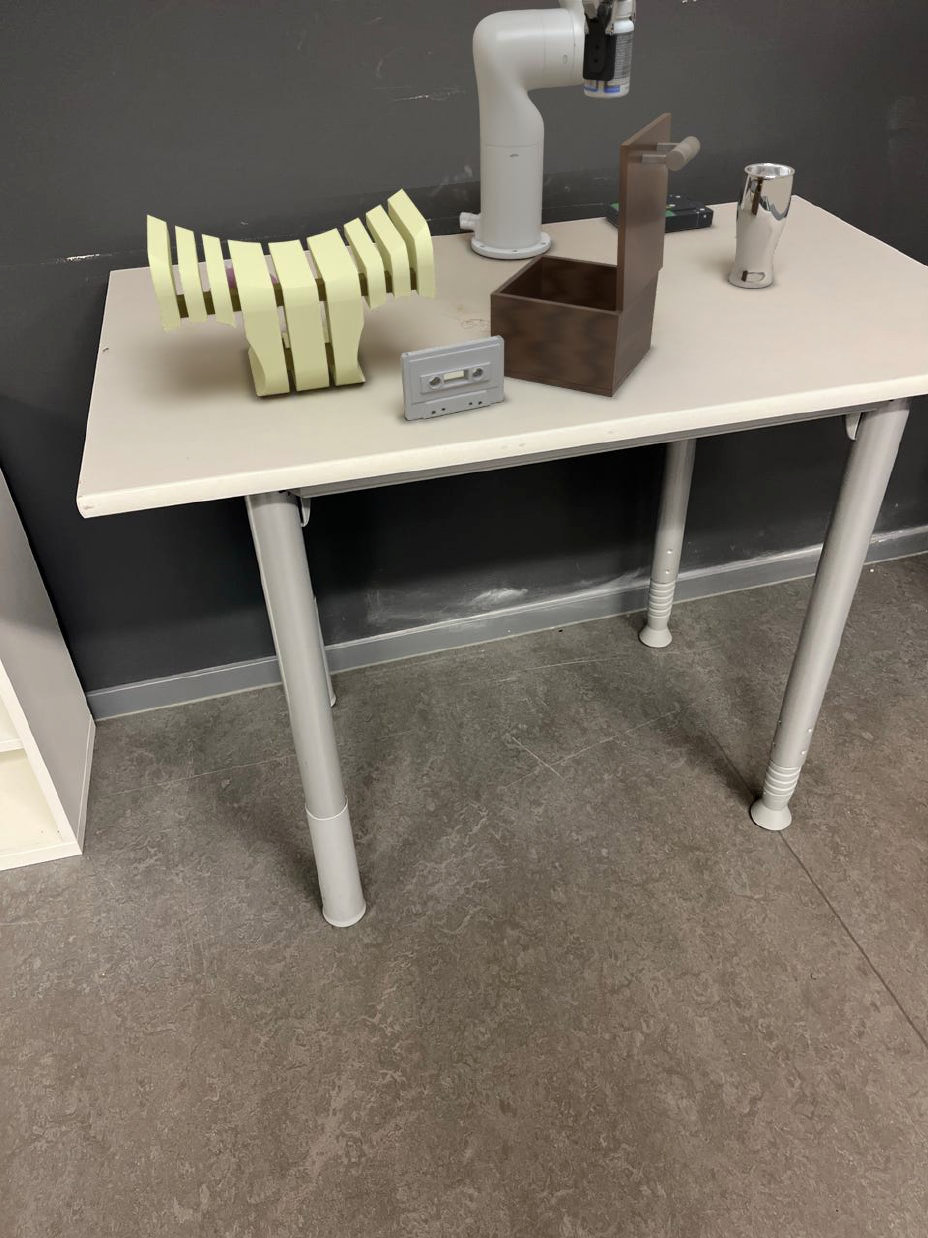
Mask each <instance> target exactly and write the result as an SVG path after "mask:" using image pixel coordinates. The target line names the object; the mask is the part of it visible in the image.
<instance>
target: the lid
mask: <svg viewBox="0 0 928 1238" xmlns="http://www.w3.org/2000/svg"><path fill="white" fill-rule="evenodd" d="M671 129H672V112H663V113H662V114H661V115H659V116H658V117H656V118H655V119H654V120H652V121H651V122H650V123H648V124H647V125H646V126H645V127H643V128H642V129H640V130H639V131H637V132H636V133H635V134H633V135H632V136H631V137H629V138H628V139H626V140H625V141H624V142H623V143H621V144H620V145H619V168H618V169H619V172H618V173H619V174H618V202H619V207H618V227H617V252H616V256H617V257H616V265H617V284H616V310H617V311H624V309H625V308H626V307H627V306H628V305H629V304H630V303H631V302H632V301H633V299H634V298H635V297H636V296H637V295H638V294H639V293H640V292H641V291H642V289H643V288H644V287H645V286H646V285H647V284H648V283H649V282H650V281H651V279H652V278H653V277H654V276H655V275H656V274H657V273H658V272H660V271H661V270H662V268H664V255H665V253H664V251H665V234H666V232H665V219H666V201H667V196H668V181H669V171H671V172H678V171H680V170H681V169H682V168H683V167H685V166H686V165H687V164H688V163H689V162H690V161H691V160H692V159H693V158H695V156H696V155H698V154H699V152H700V149H701V143H700V141H699V139H698V138H697V137H695V136H692V135H690V136H687V137H685V138H684V139H683V140H682V141H680V142H671ZM658 274H659V273H658Z"/></svg>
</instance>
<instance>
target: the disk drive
mask: <svg viewBox="0 0 928 1238" xmlns="http://www.w3.org/2000/svg"><path fill="white" fill-rule="evenodd" d="M692 198H693V197H692V196H690V195H689V194H687V193H678V194H671V195H667V201H666V219H665V233H668V232H670V233H671V232H678V231H685V230H692V229H693V230H694V229H699V228H704V227H708V226H712V225H713V219H714V213H715V211H714V210H713V209H712V208H710V207H708V206H707V205H705V204H703V203H702V202H700V201H699V200H692ZM618 207H619V201H614V202H607V203H606V210H605V213H606V214H605V218H606V219H607V220H608V221H609V222H610V223H612V224H613V225H615V226H616V227H617V228H618Z"/></svg>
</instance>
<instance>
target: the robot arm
mask: <svg viewBox="0 0 928 1238" xmlns="http://www.w3.org/2000/svg"><path fill="white" fill-rule="evenodd" d="M557 1H558V4H559V8H558V7H557V8H543V9H540V8H539V9H537V8H533V9H515V10H514V9H513V10H504V11H503V10H502V11H499V12H494V13H492V14H488V15H487V16H486V17H484V18H482V19H481V20H480V21H479V22H478V23H477V25H476V26H475V29H474V32H473V34H472V58H473V65H474V66H473V67H474V71H475V79H476V86H477V96H478V110H479V111H478V112H479V166H480V168H479V169H480V170H479V173H480V175H479V177H480V178H479V179H480V181H479V182H480V212H479V213H478V214H474V213H472V212H464V211H462V212H461V213H460V215H459V226H460V227H459V228H460V229H461V230H467V231H468V230H471V231H473V232H474V235H473V236H472V238H471V240H470V241H471V245H470V246H471V249H472V250H473V251H474V252H475V253H477V254H478V255H480V256H484V257H487V258H490V259H499V260H522V259H528V258H529V259H530V258H535V257H536V256H537V255H538V254H544V253H546V252H548V250H549V249H550V248H551V244H552V243H551V241H552V239H551V237H550V235H549V234H547V233H546V232H545V231H543V230H542V217H543V216H542V214H543V213H542V212H543V211H542V210H543V183H544V153H545V151H544V149H545V148H544V147H545V123H544V120H543V117H542V114H541V112H540V111H539V109H538V108H537V107H536V105H535V104H534V103H533V102H532V100H531V99H530V97H529V94H528V92H529V91H534V90H538V89H549V88H565V87H574V86H579V85H582V84H583V85H584V79H585V80H597V81H611V80H612V79H613V78H614V69H615V55H616V42H617V35H616V34H613V32H614V26H615V19H616V12H617V5H618V0H557ZM637 2H638V0H632V12H631V16H629V20H630V21H632V23H633V25H634V26H635V23H636V19H637ZM604 5H609V6H608V13H607V14H606V9H605V6H604ZM634 34H635V33H634ZM634 34H633V38H634V36H635V35H634ZM633 47H634V44H633V45H632V49H633Z"/></svg>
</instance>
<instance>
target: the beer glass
mask: <svg viewBox="0 0 928 1238" xmlns="http://www.w3.org/2000/svg"><path fill="white" fill-rule="evenodd" d="M795 171H796V170H795V169H794V168H793V167H791V166H788V165H785V164H780V163H771V162H764V163H763V162H762V163H754V164H750V165H746V166H745V167H744V172H743V175H742V180H741V184H740V189H739V193H738V198H737V205H736V214H735V215H736V217H735V218H736V219H735V237H736V238H735V256H734V261H733V263H732V267H731V269H730V273H729V276H728V281H729V283H730V284H731V285H734V286H736V287H739V288H744V289H763V288H766V287H769V286H771V284H772V282H773V261H774V257H775V253H776V249H777V247H778V244H779V241H780V239H781V237H782V233H783V230H784V228H785V225H786V221H787V218H788V216H789V212H790V207H791V202H792V195H793V188H794V180H795V179H794V178H795V173H796V172H795Z"/></svg>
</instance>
